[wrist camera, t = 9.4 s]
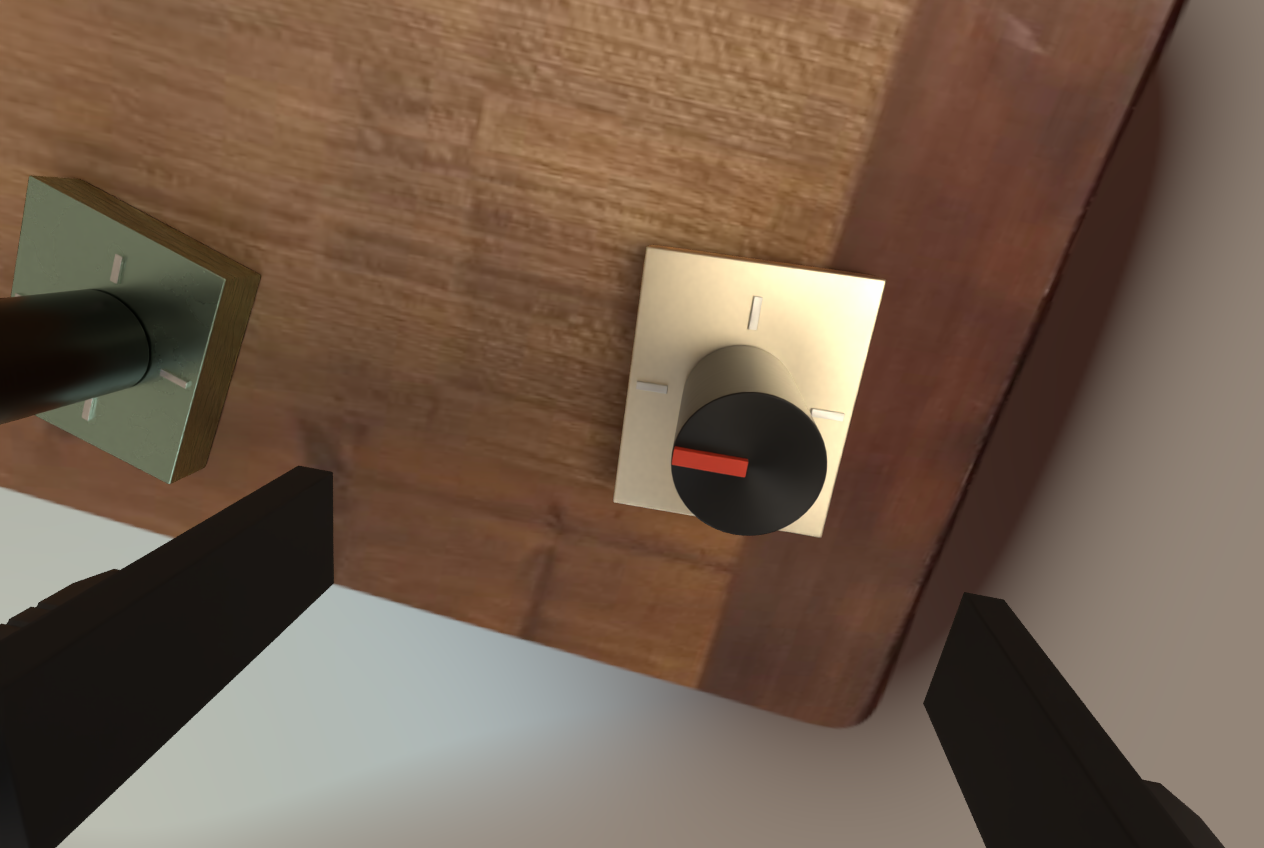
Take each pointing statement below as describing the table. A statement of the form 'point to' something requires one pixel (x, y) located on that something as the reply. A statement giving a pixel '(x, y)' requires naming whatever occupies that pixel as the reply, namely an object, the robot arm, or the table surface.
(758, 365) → the front knob
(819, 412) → the front panel
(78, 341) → the back knob
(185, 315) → the back panel
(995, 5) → the table surface
